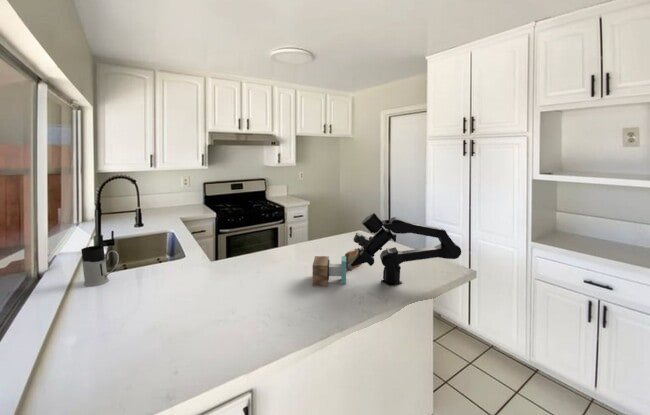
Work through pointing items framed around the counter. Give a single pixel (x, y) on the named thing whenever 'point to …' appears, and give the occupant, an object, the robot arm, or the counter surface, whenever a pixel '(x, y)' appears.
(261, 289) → the counter surface
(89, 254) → the grey black mug
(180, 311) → the counter surface
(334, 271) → the teal flanged block
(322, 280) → the block
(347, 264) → the tin
